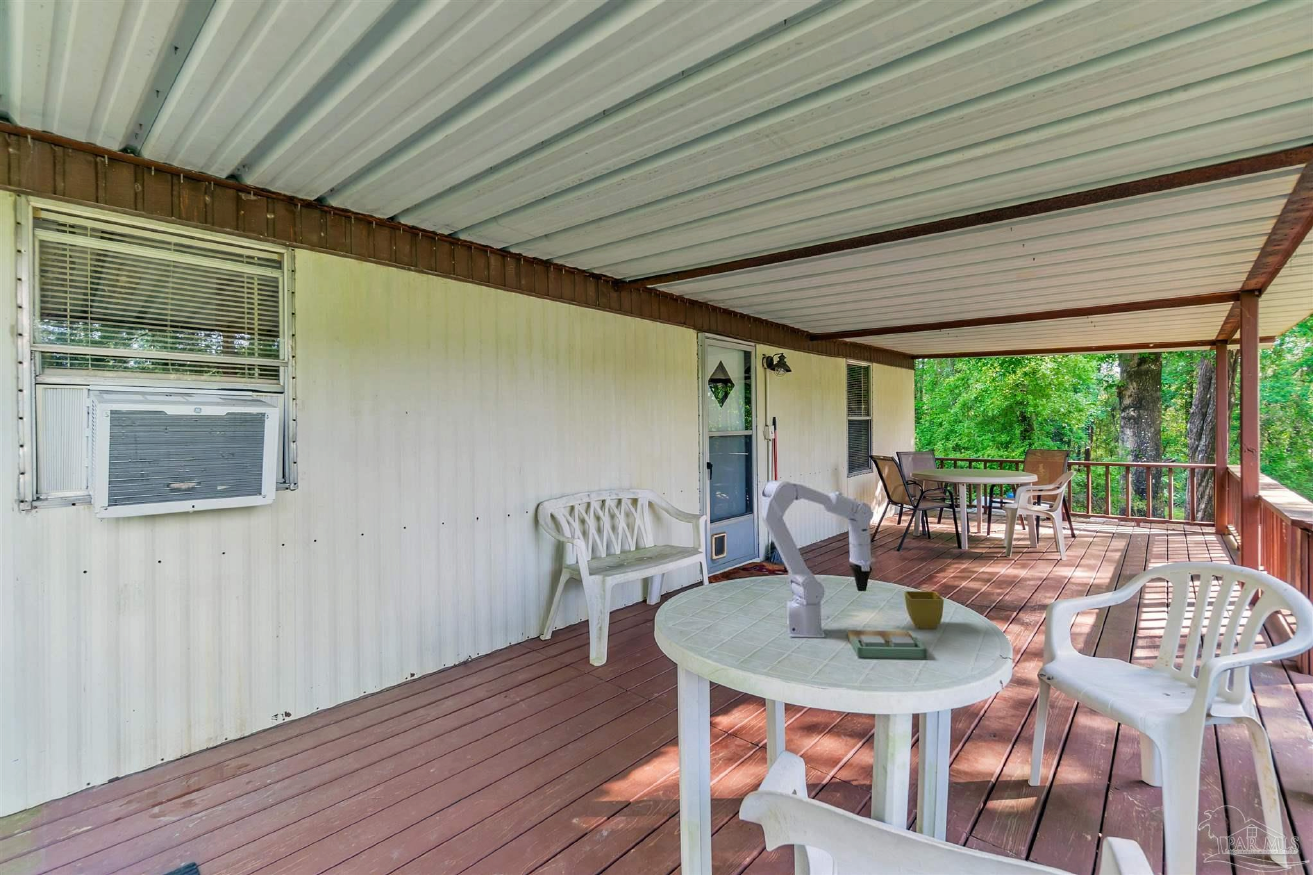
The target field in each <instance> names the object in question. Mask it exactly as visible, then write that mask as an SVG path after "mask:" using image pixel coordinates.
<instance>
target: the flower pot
mask: <svg viewBox="0 0 1313 875" xmlns="http://www.w3.org/2000/svg"><path fill="white" fill-rule="evenodd" d="M903 593H904V598H905V599H904V600H905V607H906V610H907V613H908V616H909V618H910V620H911V622H912V623H913V625H914V626H915V627H916V629H927V630H928V629H929V630H931V629H932V630H936V629H937V628H938V627H939V625H940V624H941V621H942V618H943V610H944V600H945V599H944V598H943V597H942V596H941V595H939V593H938V592H937V591H931V590H930V591H929V590H927V591H926V590H923V591H922V590H921V591H920V590H904V591H903Z"/></svg>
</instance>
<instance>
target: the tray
mask: <svg viewBox="0 0 1313 875" xmlns="http://www.w3.org/2000/svg"><path fill="white" fill-rule="evenodd" d="M912 640H913V641H914V642H915V648H911V647H890V646H889V645H885V646H886V647H862V646H861V645H860V643H859V642H858V640H857V638H856V637H852V645H851V647H852V649H853V650H854V653H855V654H856V656H857V659H868V660H869V659H870V660H871V659H872V660H873V659H874V660H875V659H878V660H881V659H882V660H883V659H885V660H928V654H927V653H928V652H927V648H926V647H925V646H924V644H923V643H922V642H921V641H920V640H919V639H918V638H917V636H914V637H913V636H912Z"/></svg>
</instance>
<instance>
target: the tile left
mask: <svg viewBox="0 0 1313 875" xmlns="http://www.w3.org/2000/svg"><path fill="white" fill-rule="evenodd" d="M861 646H862V647H886V646H885V641H884V640H883V639H882V637H881V636H861Z"/></svg>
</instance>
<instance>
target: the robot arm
mask: <svg viewBox="0 0 1313 875" xmlns="http://www.w3.org/2000/svg"><path fill="white" fill-rule="evenodd" d="M760 497H761V519H762V522H763V523H764V525H765V527H766V530H767V532H768V534H769V535H770V537H771V539H772V541H773V543H774V545H775V547H776V550H777V551H778V554H779V555H780V558H781V559H782V562H783V563H784V565H785V567H786V570H787V572H788V574H787V578H788V581H789V589H790V592H791V593H792V594H793V597H794V598H793V600H791V601H787V602H786V615H787V616H786V617H787V621H786V628H787V631H788V636H789V637H790V638H825V637H826V635H825V632H824V630H823V628H822V607H821V605H822V604H821V601H822V600H823V598H824V597H825V592H826V591H825V587H824V585H823V584H822V583H821V582H820V581H818V580H817V578H816V576H815V574H813V572H812V571H811V570H810V569H809V567H807V565H806V563H805V561H804V559H803V556H802V555H801V552H800V551H799V548H798V546H797V544H796V543H795V541H794V538H793V536H792V534H791V532H790V530H789V529H788V526H787V524H786V522H785V520H784V516H785V513H786V512H787V510H788V509H789V508H790V507H791V505H792V504H793V503H794V502H795V501H800V500H801V499H802V500H807V501H809V502H813V503H815V504H818V505H822V506H823V508H824V510H825V511H826V512H828V513H831V514H834V515H836V516H839V517H842V518H845V519H847V521H848V541H849V544H848V545H849V559H848V560H849V562H850V563H852V564H850V565H849V567H850V569H851V572H852V574H853V577H854V581H855V586H856V590H857V591H858V592H867V587H868V584H869V578H870V575H871V573H872V571H873V567H871V563H872V562H873V563H874V562H876V558H874V557H872V556H871V555H872V554H871V553H872V552H871V529H870V528H871V521H872V519H873V517H874V511H872V507H871V506H870V505H869V504H868V503H866V502H861V501H857V498H855V497H851V498H850V497H847V496H844V495H843V493H842V492H840V491H836V492H830V493H828V494H827V493H826V494H825V493H824V492H821V491H819V490H816V489H813V488H811V487H808V486H806V485H804V484H798V483H792V482H790V481H780V480H776V479H771V480H769V481H766V483H765V484H764V486H763V487H762V490H761V492H760Z"/></svg>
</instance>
